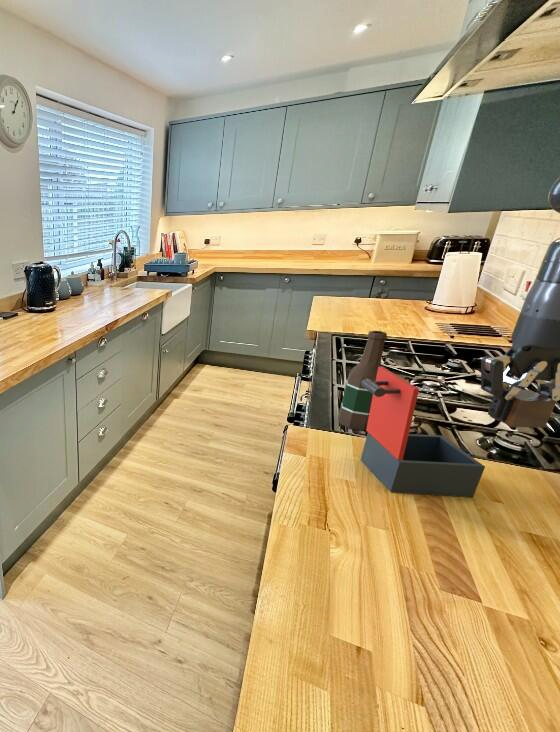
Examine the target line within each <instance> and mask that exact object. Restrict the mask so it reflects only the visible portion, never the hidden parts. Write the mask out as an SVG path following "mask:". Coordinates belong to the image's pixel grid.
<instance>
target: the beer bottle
mask: <svg viewBox="0 0 560 732" xmlns="http://www.w3.org/2000/svg"><path fill="white" fill-rule="evenodd" d="M386 339H388V334H387V332H385V331H382V330H371V331H369V332H368V333H367V340H366V344H365V347H364V350H363V354H362V356H361V359H360V361H359V362H358V363H357V364H356V365H354V366H353V367H352V368H351V370H350V371H349V373H348V376H347V379H346V383H345V387H344V391H343V395H342V400H341V404H340V408H339V413H338V423H339V425H341V426H343V427H345V428H347V429H349V430H356V431H363V432H364V431H366V428H367V423H368V418H369V413H370V408H371V402H372V397H373V394H372V393H371V392H370V391H368V390H367V389H366V388H364V387H363V386H362V385H361V382H362V380H364V379H370V380H372V381H376V376H377V371H378V367H382V358H383V352H384V347H385V341H386Z"/></svg>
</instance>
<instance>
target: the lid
mask: <svg viewBox="0 0 560 732" xmlns="http://www.w3.org/2000/svg"><path fill="white" fill-rule="evenodd" d="M361 385H362V386H363V387H364V388H366V389H367V390H368V391H370V392H371V393H372V394H373V397H372V402H371V408H370V413H369V418H368V423H367V428H366V430H365V431H366V432H367V433H369V434H370V435H372V436H373V437H374V438H375V439H376V440H377V441H378V442H379V443H380V444H381V445H382V446H383V447H384V448H386V449H387V450H388V451H389V452H390V453H391V454H392V455H393V456H394V457H395V458H396V459H397V460H403V456H404V452H405V448H406V443H407V439H408V435H409V434H410V431H411V425H412V422H413V418H414V414H415V409H416V404H417V401H418V396H419V392H420V388H418V387H417V386H415V385H414V384H412V383H410V382H409V381H407V380H406V379H404V378H402V377H400V376H399V375H397V374H396V373H395V372H392V371H390V369H387V368H386V367H384V366H381V367H378V371H377V376H376V381H372V380H370V379H364V380H362V382H361Z"/></svg>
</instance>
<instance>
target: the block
mask: <svg viewBox="0 0 560 732" xmlns="http://www.w3.org/2000/svg"><path fill="white" fill-rule="evenodd" d="M508 389H509V388H507V389H506V390H508ZM512 400H513V404H512V406H511V409H510V411H509V414H508V416H507V419H506V420H505V421H500V423H503V424H504V425H507V426H508V427H510V428H534V429H535V428H539V429H544V428H545V429H546V427H547V424H548V422H549V420H550V417H551V415H552V413H553V411H554V409H555V406H556V404H557V402H558V401H555V400H552V399H550V398H548V397H545V396H543V395H541V394H538V393H537V391H533V390H531V389H521V390H520V392H519V393H518V394H517V395H516V396H515V398H514V399H512ZM487 415H488V416H490V414H489V413H488V412H487Z"/></svg>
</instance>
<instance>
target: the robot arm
mask: <svg viewBox="0 0 560 732" xmlns="http://www.w3.org/2000/svg"><path fill="white" fill-rule="evenodd" d="M547 201H548V204H549V206H550V207H551V209H552V210H553V211H554V212H556V213H558V214H560V176H558V178H557V179H556V180H554V182H553V183H552V185H551V187H550V188H549V192H548V197H547ZM510 340H511V343H512V345H511V347H510V348H509V349H508V350H507V351H506V352H505V354H504V355H498V356H495V357H492V356H490V355H484V356H483V357H481V359H480V389H481V390H482V391H483V392H485V393H488V394H490V395H492V396H493V397H492V400H491V402H490V405H489V407H488V410H487V414H488V413H489V414H490V415H489V417H490V418H492V419H494V420H496V421H497V422H501V421H505V420H506V419H507V416H508V414H509V411H510V409H511V406H512V404H513V400H512V399H514V398H515V396H516V395H517V394H518V393H519V392H520V390H524V389H526V388H528V387H529V385H531V383H532V382H533V381H535V382H536V383H537V387H536V388H537V389H536V393H538V394H541V395H543V396H545V397H548V398H550V399H552V400H555V401H557V402H558V401H560V237H558V238H556V239H555V240H553V241H551V242H550V244H549V245H548V246H547V249H546V251H545V253H544V255H543V257H542V260H541V264H540V266H539V268H538V270H537V274H536V276H535V279H534V282H533V284H532V285H531V287H530V289H529V290H528V292H527V294H526V297H525V299H524V302H523V304H522V307H521V310H520V312H519V314H518V317H517V321H516V323H515V326H514V328H513V331H512V334H511V336H510ZM515 377H516V378H519V379H516V378H515ZM506 389H508V390H506Z"/></svg>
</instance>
